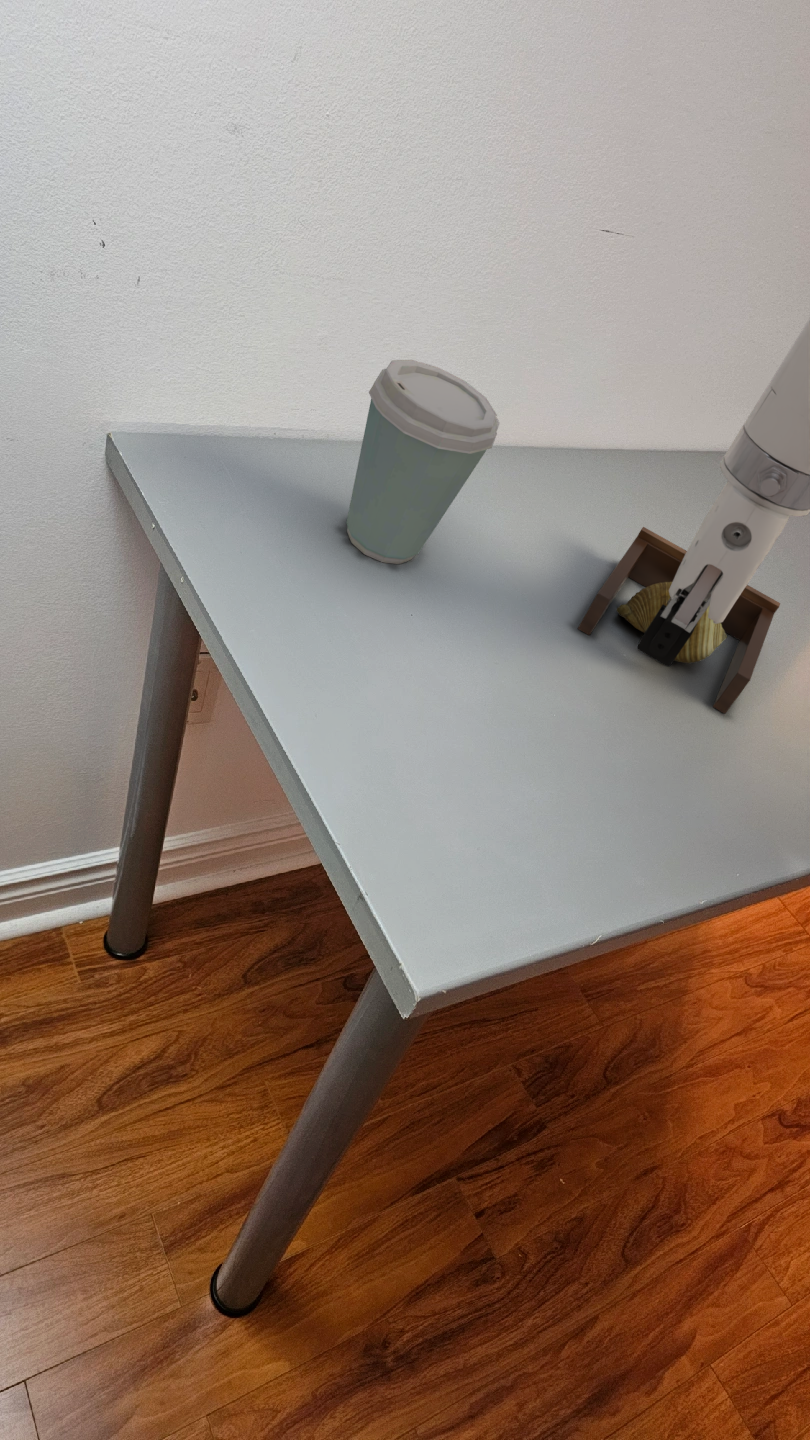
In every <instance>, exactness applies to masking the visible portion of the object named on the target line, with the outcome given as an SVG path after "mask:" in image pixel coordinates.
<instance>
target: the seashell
mask: <svg viewBox="0 0 810 1440" xmlns="http://www.w3.org/2000/svg"><path fill="white" fill-rule="evenodd" d="M671 584H672V582H663V583H657V584H653V585H651V586H648V587H644V588H641V589H640V590H639V591H636V592H635V594H634V595H633V596H632V597H631V598H630V599H629V600H628V601H627V602H626V603H625V604H624V603H623V604H620V605H619V606H617V607H616V612H617V614H618V615H619V616H621V617H622V618H624V619H625V620H626V622H628V623H629V624H630V625H631V626H633V627H634V628H635V629H636V630H637V631H640V632H641V633H643V634H644V633H645V631H646V630H647V628H648V627H649V625H650V624H651V622H652V621H653V619H654V617H655V616H656V614H657V613H658V611H659V610H660V608H661V607H662V605H665V606H667V605H666V604H667V602H668V601H669V599H670V594H669V588H670V586H671ZM709 607H710V605H709ZM709 607H708V608H707V610H706V611H705V612H704V614H703V615H702V617H701V618H700V619H699V621H698V622H697V625H696V627H695V628H694V632H693V633H692V635H691V636H690V638H689V639H688V640H687V642H686V643H685V645H684V646H683V648H682V649H681V651H680V652H679V654H678V655H677V657H676V658H675V660H674V661H675V662H678V663H684V664H691V663H699V662H701V661H703V660H706V659H707V658H708V657H710V656H711V655H712V654H713V653H714V652H715V651H716V648H718V647H720V646H721V644H722V643H723V642H725V640H726V639H727V638H728V635H727V633H726V632H725V631H724V629H723V628H722V625H721V623H718V624H715V623H713V620H712V619H710V618H708V613H709Z"/></svg>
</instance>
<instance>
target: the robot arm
mask: <svg viewBox="0 0 810 1440" xmlns="http://www.w3.org/2000/svg"><path fill="white" fill-rule="evenodd" d="M719 468H720V472H721V474H722V475H723V477H724V478H725V479H726V480H727V481H726V483H725V484H724V486H723V488H722V489H721V491H720V493H719V494H718V496H717V498H716V499H715V501H714V502H713V503H712V505H711V507H710V508H709V511H708V512H707V513H706V515H705V517H704V519H703V520H702V522H701V524H700V525H699V527H698V529H697V531H696V533H695V534H694V536H693V538H692V540H691V542H690V544H689V546H688V548H687V550H686V551H687V552H686V554H685V556H684V558H683V560H682V562H681V564H680V566H679V568H678V571H677V573H676V575H675V577H674V580H673V582H672V584H671V586H670V588H669V594H670V599H669V601H668V602H667V604H666V605H667V606H665V605H662V607H661V608H660V610H659V611H658V613H657V614H656V616H655V617H654V619H653V621H652V622H651V624H650V625H649V627H648V628H647V630H646V631H645V633H644V632H643V634H642V636H641V638H640V640H639V642H638V644H637V646H636V649H637V650H638V651H639V652H641V653H643V654H644V655H646V656H647V657H650V658H651V659H653V660H654V661H656V662H657V663H660V664H661V665H663V666H665V667H670V666H671V665H672V664H673V663H674V661H675V658H676V657H677V655H678V654H679V652H680V651H681V649H682V648H683V646H684V645H685V643H686V642H687V640H688V639H689V638H690V636H691V635H692V633H693V632H694V628H695V627H696V625H697V622H698V621H699V619H700V618H701V617H702V615H703V614H704V612H705V611H706V610H707V608H708V607H709V605H710V607H709V613H708V618H710V619H712V620H713V623H715V624H718V623H721V622H723V621H724V619H725V618H726V616H727V615H728V613H729V611H730V610H731V608H732V607H733V605H734V604H735V602H736V601H737V599H738V598H739V596H740V595H741V593H742V592H743V590H744V589H745V587H746V586H747V585H748V584H749V582H750V581H751V580H752V578H753V576H755V574H756V573H757V571H758V569H759V568H760V566H761V565H762V564H763V561H764V560H765V559H766V557H767V556H768V554H769V553H770V551H771V550H772V548H773V546H774V545H775V544H776V541H777V540H778V538H779V537H780V535H781V534H782V532H783V531H784V528H785V527H786V526H787V523H788V522H789V520H790V518H791V517H794V518H795V517H797V518H800V517H805V516H807V515H809V514H810V317H809V318H808V319H807V321H806V323H805V324H804V326H803V328H802V329H801V331H800V333H799V334H798V335H797V338H796V339H795V341H794V342H793V344H792V346H791V347H790V349H789V351H788V352H787V354H786V355H785V357H784V358H783V360H782V362H781V363H780V365H779V367H778V368H777V370H776V372H775V373H774V375H773V376H772V378H771V380H770V381H769V383H768V385H767V386H766V388H765V389H764V391H763V393H762V394H761V395H760V397H759V399H758V401H757V402H756V404H755V405H754V407H753V409H752V410H751V412H750V413H749V415H748V417H747V418H746V419H745V422H744V423H743V425H742V426H741V428H740V430H739V431H738V433H737V434H736V437H735V438H734V439H733V441H732V442H731V444H730V446H729V447H728V449H727V450H726V452H725V454H724V455H723V457H722V458H721V460H720V462H719Z"/></svg>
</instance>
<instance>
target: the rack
mask: <svg viewBox="0 0 810 1440" xmlns="http://www.w3.org/2000/svg"><path fill="white" fill-rule="evenodd" d="M686 552H687V550H686V549H685V548H683V547H680V546H679V545H677V544H676V543H673V542H672V541H670V540H668V539H666V538H665V537H663V536H661V535H659V534H658V533H655V532H654V531H652V530H650V529H649V528H647V527H645V526H642V528H640V530H639V532H638V534H637V536H636V537H635V538H634V540H633V542H632V543H631V544H630V546H629V548H628V549H627V550H626V552H625V553H624V554H623V556H622V557H621V558H620V560H619V562H618V563H617V564H616V565H615V567H614V568H613V570H612V571H611V573H610V575H609V576H608V578H606V580H605V582H604V583H603V584H602V586H601V587H600V589H599V590H598V592H597V594H596V595H595V597H594V598H593V600H592V602H591V604H590V605H589V607H588V608H587V611H586V613H585V614H584V616H583V618H582V619H581V621H580V624H579V625H578V627H577V629H578V630H579V631H580V632H583V634H586V635H588V636H591V634H592V632H593V631H594V630H595V628H596V627H597V625H598V624H599V622H600V621H601V619H602V617H603V616H604V614H605V613H606V611H607V610H608V608H609V607H610V605H611V604H612V603H613V601H614V599H615V598H616V596H617V595H618V593H619V592H620V591H621V589H622V587H623V586H624V585H625V583H626V581H627V580H628V578H630V579H631V580H633V581H634V582H636V583H638V584H640V585H641V586H643V587H644V588H646V587H648V586H651V585H653V584H657V583H663V582H673V580H674V577H675V575H676V573H677V571H678V568H679V566H680V564H681V562H682V560H683V558H684V556H685V554H686ZM780 606H781V602H779V601H777V600H776V599H774V598H772V597H771V596H768V595H766V594H765V593H763V592H762V591H760V590H757V589H756V588H754V587H752V586H750V585H748V584H747V586H746V587H745V589H744V590H743V592H742V593H741V595H740V596H739V598H738V599H737V601H736V602H735V604H734V605H733V607H732V608H731V610H730V611H729V613H728V615H727V616H726V618H725V619H724V621H723V622H721V625H722V628H723V629H724V631H725V633H726V634H728V635H730V636H731V637H733V638H735V639H736V640H738V643H737V646H736V649H735V651H734V654H733V656H732V659H731V661H730V664H729V666H728V668H727V671H726V674H725V675H724V678H723V681H722V683H721V686H720V688H719V691H718V694H717V696H716V698H715V700H714V703H713V705H712V708H713V709H715V710H717V711H719V712H721V713H723V714H727V712H728V711H729V710H730V708H731V707H732V705H733V704H734V703H735V702H736V701H737V700H738V697H739V696H740V694H741V693H742V692H743V691H744V689H745V688H746V687H747V685H748V684H749V683H750V682H751V679H752V676H753V673H754V671H755V668H756V665H757V662H758V660H759V657H760V654H761V652H762V649H763V646H764V643H765V641H766V638H767V635H768V633H769V630H770V626H771V624H772V622H773V619H774V616H775V614H776V612H777V611H778V609H779V608H780Z"/></svg>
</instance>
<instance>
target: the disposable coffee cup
mask: <svg viewBox="0 0 810 1440" xmlns="http://www.w3.org/2000/svg"><path fill="white" fill-rule="evenodd" d="M368 394H369V396H370V403H369V407H368V412H367V418H366V423H365V427H364V432H363V438H362V442H361V448H360V453H359V457H358V462H357V468H356V473H355V477H354V483H353V487H352V491H351V496H350V501H349V508H348V513H347V517H346V522H345V524H346V527H347V529H346V532H347V535H348V538H349V541H350V543H351V544H352V545H353V546H354V547H356V549H358V550H359V551H360V552H361V553H362V554H364V555H366V556H367V557H369V558H372V559H374V560H376V561H378V562H381V563H386V564H395V565H402V564H403V563H407V562H409V561H412V560H413V558H414V557H416V556H418V555H419V554H420V552H421V550H422V549H423V548H424V546H425V545H426V543H427V541H428V540H429V539H430V537H431V535H432V534H433V532H434V531H435V529H436V528H437V526H438V525H439V523H440V522H441V520H442V519H443V517H444V515H445V514H446V513H447V511H448V509H449V508H450V507H451V505H452V503H453V502H454V500H455V499H456V497H457V496H458V494H459V493H460V491H461V490H462V489H463V487H464V486H465V484H466V482H467V481H468V480H469V478H470V476H471V474H472V473H473V471H474V470H475V468H476V467H477V465H478V464H479V463H480V461H481V459H482V458H483V456H484V455H485V454H486V452H487V450H489V449H490V450H491V449H492V448H493V446H494V443H495V440H496V438H497V435H498V429H499V427H500V420H499V419H498V414H497V412H496V411H495V409H494V408H493V406H492V404H491V403H490V402H489V400H488V398H487V397H486V396H485V395H484V394H482V393H481V392H480V391H479V390H477V389H476V388H475V387H474V386H472V385H471V383H468V382H467V381H466V380H464V379H463V378H460V377H458V376H456V375H454V374H452V373H450V372H449V371H447V370H445V369H443V368H440V367H438V366H435V365H432V364H428V363H425V362H422V361H417V360H415V359H392V360H391V361H390V363H389V364H388V365H387V367H386V368H384V369H382V370H381V371H380V372H379V374H378V376H377V377H376V379H375V381H374V382H373V385H371V387H370V389H369V390H368Z"/></svg>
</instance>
